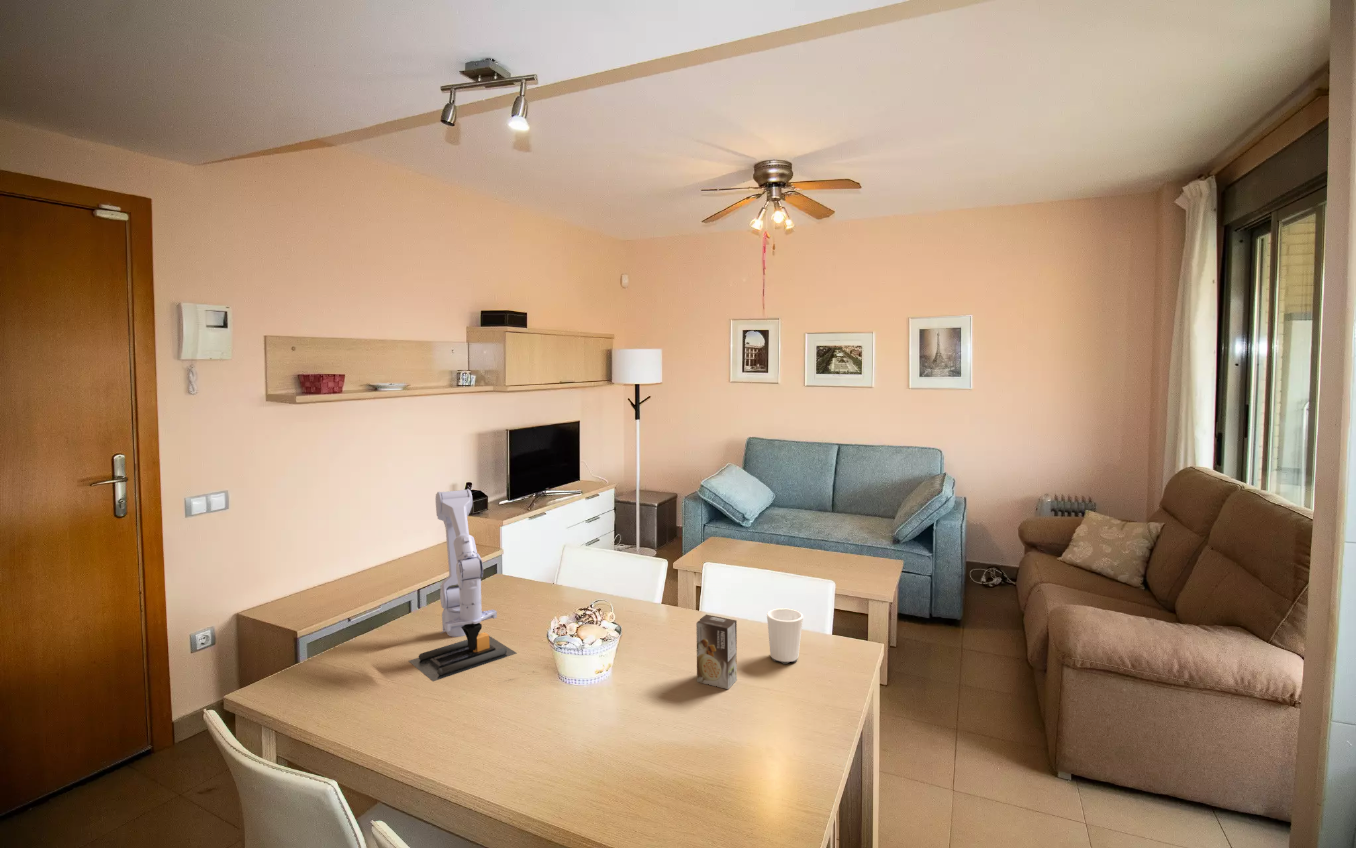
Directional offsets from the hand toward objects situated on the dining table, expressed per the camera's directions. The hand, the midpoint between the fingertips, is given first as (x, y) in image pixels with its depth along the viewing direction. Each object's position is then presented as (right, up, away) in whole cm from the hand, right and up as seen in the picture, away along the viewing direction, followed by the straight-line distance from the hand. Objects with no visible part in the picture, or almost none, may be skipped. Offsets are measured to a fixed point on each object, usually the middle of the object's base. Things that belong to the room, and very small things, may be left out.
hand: (471, 649), depth 187 cm
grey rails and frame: (-2, -2, -2) cm, 3 cm away
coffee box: (+67, -4, -12) cm, 68 cm away
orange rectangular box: (+2, -1, +2) cm, 3 cm away
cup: (+87, -3, +1) cm, 87 cm away
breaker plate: (-2, -3, -1) cm, 4 cm away
